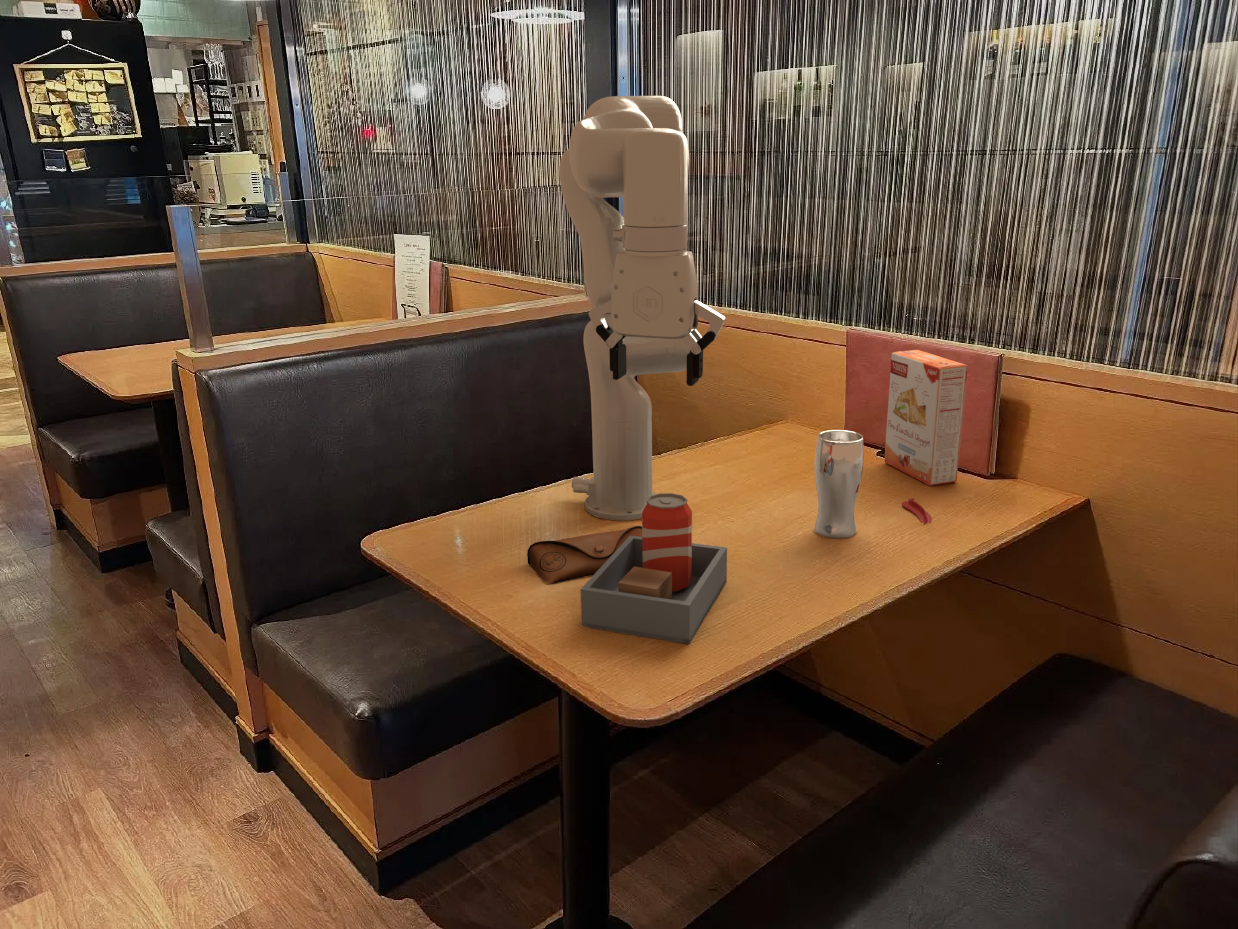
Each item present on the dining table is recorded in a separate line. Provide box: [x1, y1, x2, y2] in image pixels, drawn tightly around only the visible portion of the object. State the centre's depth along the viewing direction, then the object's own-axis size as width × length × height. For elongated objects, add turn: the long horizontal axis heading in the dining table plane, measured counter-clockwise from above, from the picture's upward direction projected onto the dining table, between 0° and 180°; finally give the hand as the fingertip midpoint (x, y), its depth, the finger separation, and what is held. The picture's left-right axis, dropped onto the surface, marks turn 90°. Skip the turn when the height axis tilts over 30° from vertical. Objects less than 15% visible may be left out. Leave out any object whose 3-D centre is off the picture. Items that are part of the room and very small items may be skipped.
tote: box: [579, 536, 728, 645], centre depth 117 cm, size 14×18×5 cm
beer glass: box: [814, 429, 864, 540], centre depth 137 cm, size 7×7×15 cm
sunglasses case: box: [526, 525, 642, 586], centre depth 130 cm, size 18×7×7 cm
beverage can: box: [641, 492, 693, 593], centre depth 119 cm, size 6×6×12 cm
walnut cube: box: [618, 566, 672, 600], centre depth 113 cm, size 5×5×5 cm
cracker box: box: [883, 349, 968, 487], centre depth 161 cm, size 14×6×21 cm, turn 17°
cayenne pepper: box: [901, 498, 933, 526], centre depth 146 cm, size 12×5×2 cm, turn 162°
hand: (655, 380), depth 115 cm, fingers open, 9 cm apart
